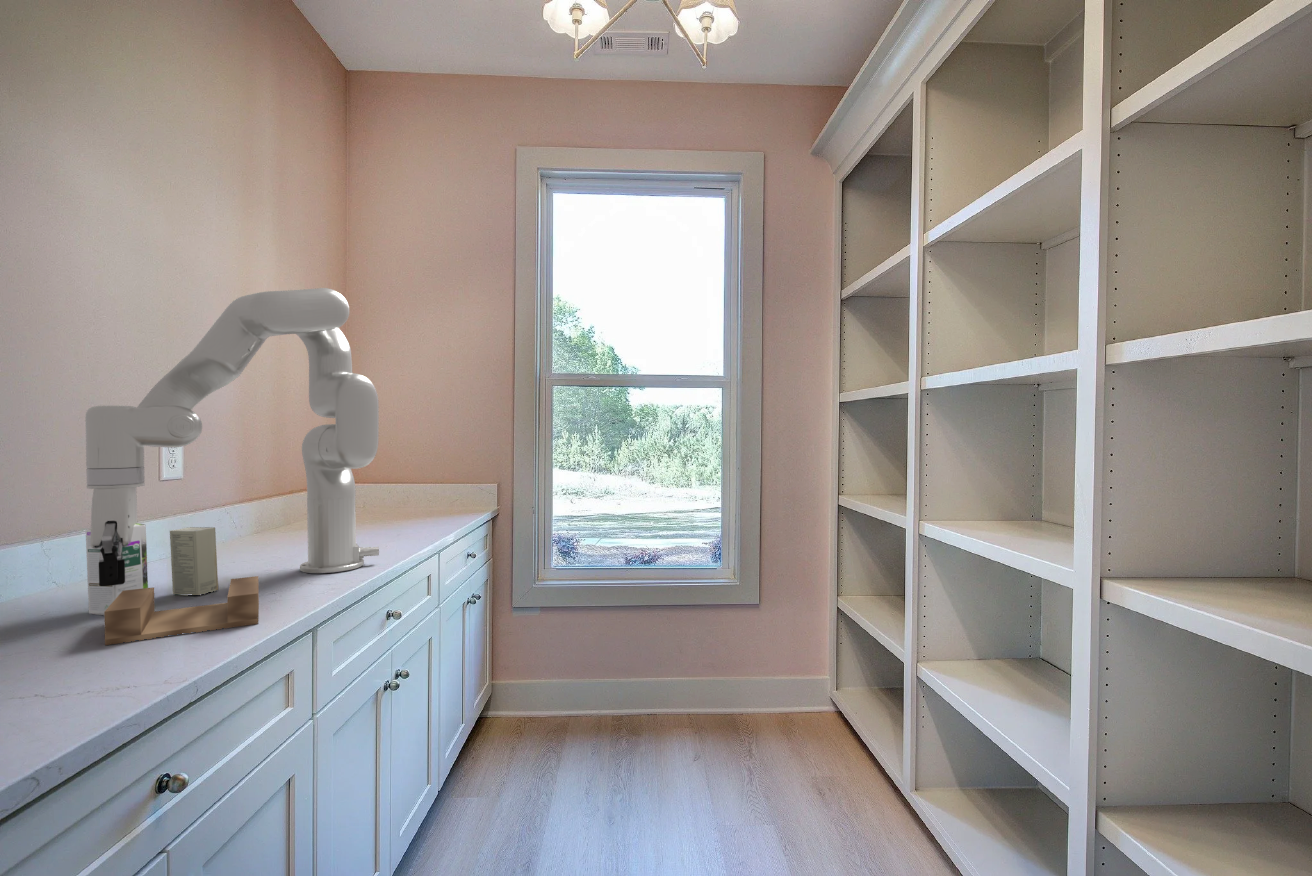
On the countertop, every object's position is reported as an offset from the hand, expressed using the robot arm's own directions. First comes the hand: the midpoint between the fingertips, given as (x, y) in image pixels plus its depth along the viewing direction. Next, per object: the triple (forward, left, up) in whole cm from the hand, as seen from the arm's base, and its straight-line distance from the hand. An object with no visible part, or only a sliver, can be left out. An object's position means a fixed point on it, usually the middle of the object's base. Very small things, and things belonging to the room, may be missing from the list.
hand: (118, 579), depth 108 cm
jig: (-11, +15, -5) cm, 19 cm away
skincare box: (-10, -7, -6) cm, 13 cm away
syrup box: (0, 0, -6) cm, 6 cm away
